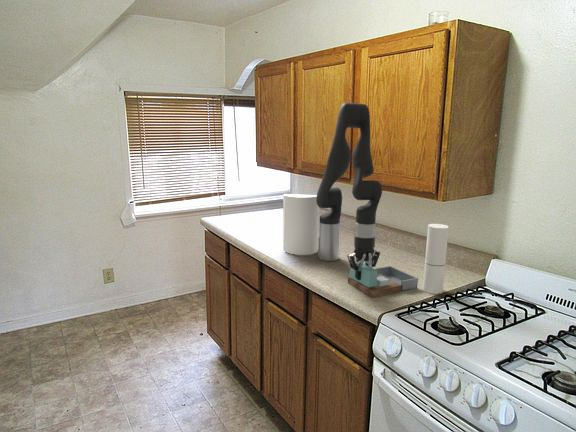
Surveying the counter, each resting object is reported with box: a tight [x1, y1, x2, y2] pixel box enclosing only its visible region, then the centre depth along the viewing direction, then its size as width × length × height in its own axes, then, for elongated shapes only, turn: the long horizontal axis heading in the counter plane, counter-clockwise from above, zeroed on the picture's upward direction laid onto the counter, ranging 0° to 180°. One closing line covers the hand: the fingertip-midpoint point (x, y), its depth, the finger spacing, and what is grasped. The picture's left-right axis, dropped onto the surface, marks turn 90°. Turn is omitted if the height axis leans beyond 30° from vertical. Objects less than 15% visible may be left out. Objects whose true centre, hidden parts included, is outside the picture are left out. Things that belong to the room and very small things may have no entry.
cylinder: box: [282, 193, 320, 256], centre depth 204 cm, size 17×17×28 cm
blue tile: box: [377, 276, 389, 286], centre depth 156 cm, size 4×4×2 cm
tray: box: [374, 265, 419, 292], centre depth 163 cm, size 16×8×4 cm, turn 27°
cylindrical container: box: [422, 223, 450, 295], centre depth 154 cm, size 7×7×25 cm
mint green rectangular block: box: [349, 263, 377, 287], centre depth 155 cm, size 12×4×6 cm, turn 27°
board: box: [347, 274, 402, 299], centre depth 159 cm, size 16×13×2 cm
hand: (362, 278), depth 156 cm, fingers closed on mint green rectangular block, 3 cm apart
